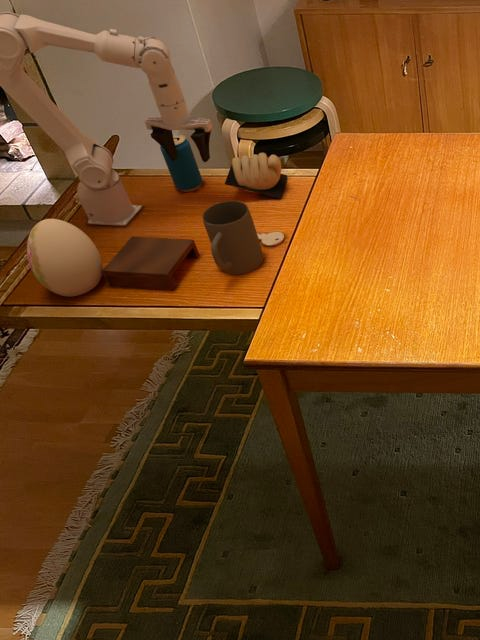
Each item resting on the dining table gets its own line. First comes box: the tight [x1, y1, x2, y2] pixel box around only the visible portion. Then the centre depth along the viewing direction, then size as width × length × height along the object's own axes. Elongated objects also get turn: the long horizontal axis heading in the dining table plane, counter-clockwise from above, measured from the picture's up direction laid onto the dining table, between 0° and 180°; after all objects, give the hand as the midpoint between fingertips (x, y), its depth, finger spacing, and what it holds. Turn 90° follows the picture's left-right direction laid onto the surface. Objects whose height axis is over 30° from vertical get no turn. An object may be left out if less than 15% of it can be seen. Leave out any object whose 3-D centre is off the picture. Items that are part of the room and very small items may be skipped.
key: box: [257, 231, 285, 247], centre depth 155 cm, size 11×1×5 cm
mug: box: [202, 200, 264, 275], centre depth 143 cm, size 14×9×12 cm
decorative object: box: [224, 152, 288, 200], centre depth 166 cm, size 13×10×10 cm
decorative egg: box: [26, 218, 103, 298], centre depth 141 cm, size 12×12×15 cm
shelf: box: [102, 236, 200, 291], centre depth 147 cm, size 14×12×4 cm
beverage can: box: [159, 133, 203, 193], centre depth 168 cm, size 6×6×12 cm
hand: (191, 159), depth 161 cm, fingers open, 7 cm apart
